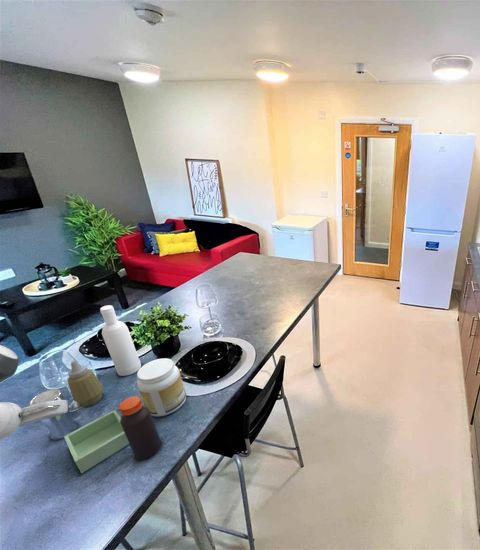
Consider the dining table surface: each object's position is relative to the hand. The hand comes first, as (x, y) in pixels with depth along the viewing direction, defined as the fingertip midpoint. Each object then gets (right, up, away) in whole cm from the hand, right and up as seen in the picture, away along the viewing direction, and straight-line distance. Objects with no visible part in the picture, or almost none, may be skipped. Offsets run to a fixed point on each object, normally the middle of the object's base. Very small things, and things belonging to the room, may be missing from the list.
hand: (28, 419), depth 79 cm
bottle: (-6, 0, +41) cm, 41 cm away
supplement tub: (+20, -8, +26) cm, 34 cm away
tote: (+10, -14, +12) cm, 20 cm away
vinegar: (+25, -15, +11) cm, 31 cm away
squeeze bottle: (-8, -6, +26) cm, 28 cm away
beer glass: (-6, -12, +15) cm, 20 cm away
